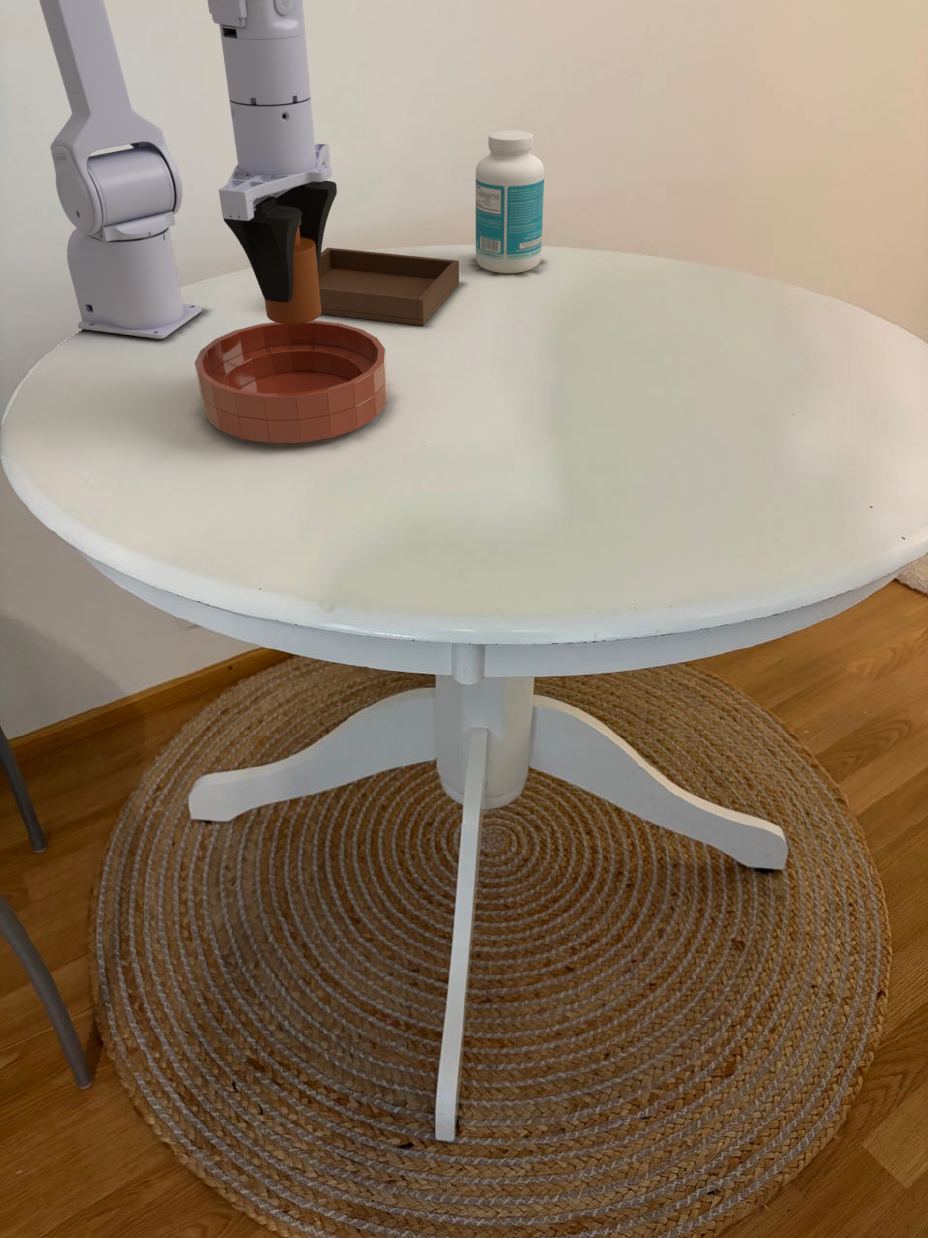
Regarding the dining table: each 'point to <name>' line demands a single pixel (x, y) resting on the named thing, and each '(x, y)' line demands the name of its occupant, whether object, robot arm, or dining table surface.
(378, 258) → the tray
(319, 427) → the bowl
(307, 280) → the bottle
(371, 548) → the dining table surface
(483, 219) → the pill bottle
